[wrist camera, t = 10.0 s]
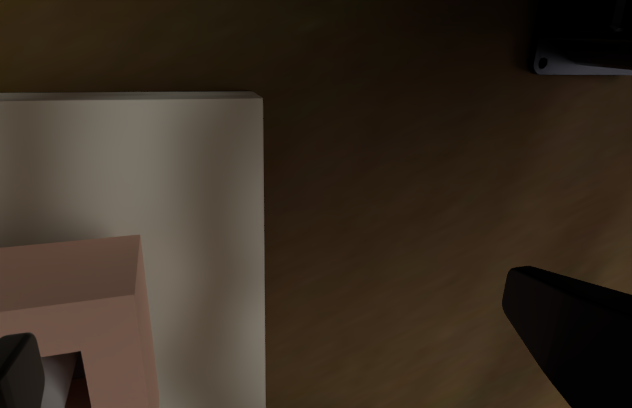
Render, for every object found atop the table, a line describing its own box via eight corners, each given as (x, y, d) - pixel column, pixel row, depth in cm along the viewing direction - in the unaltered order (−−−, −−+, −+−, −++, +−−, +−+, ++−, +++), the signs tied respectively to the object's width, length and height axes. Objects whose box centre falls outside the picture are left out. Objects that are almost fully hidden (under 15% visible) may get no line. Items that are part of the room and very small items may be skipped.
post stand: (252, 91, 18) (295, 121, 13) (258, 408, 24) (289, 531, 18) (-286, 94, 14) (-611, 144, 8) (-124, 487, 19) (-246, 685, 14)
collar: (140, 234, 16) (134, 294, 12) (159, 396, 18) (159, 485, 15) (-109, 258, 14) (-202, 338, 10) (-50, 436, 16) (-109, 550, 13)
